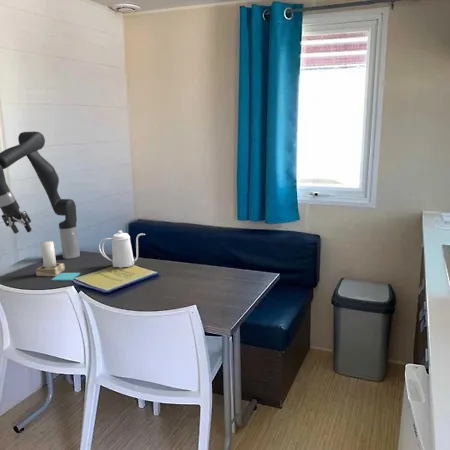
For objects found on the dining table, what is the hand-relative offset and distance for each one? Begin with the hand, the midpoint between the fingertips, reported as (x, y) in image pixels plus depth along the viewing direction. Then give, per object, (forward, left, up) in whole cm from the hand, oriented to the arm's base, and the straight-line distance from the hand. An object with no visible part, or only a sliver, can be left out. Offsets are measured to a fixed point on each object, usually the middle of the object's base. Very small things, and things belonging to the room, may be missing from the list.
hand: (23, 232), depth 216 cm
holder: (-10, +5, -24) cm, 27 cm away
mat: (-3, +17, -24) cm, 29 cm away
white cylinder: (-10, +5, -24) cm, 27 cm away
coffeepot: (-21, +40, -24) cm, 52 cm away
